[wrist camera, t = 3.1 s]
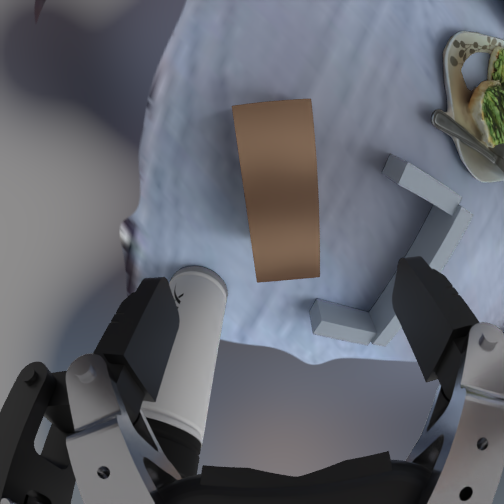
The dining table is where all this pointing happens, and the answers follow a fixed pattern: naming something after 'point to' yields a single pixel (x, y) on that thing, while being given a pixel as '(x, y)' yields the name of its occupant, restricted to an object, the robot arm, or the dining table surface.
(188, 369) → the travel mug
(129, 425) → the robot arm
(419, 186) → the gray u-shaped bracket
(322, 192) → the dining table surface
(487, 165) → the salad plate
